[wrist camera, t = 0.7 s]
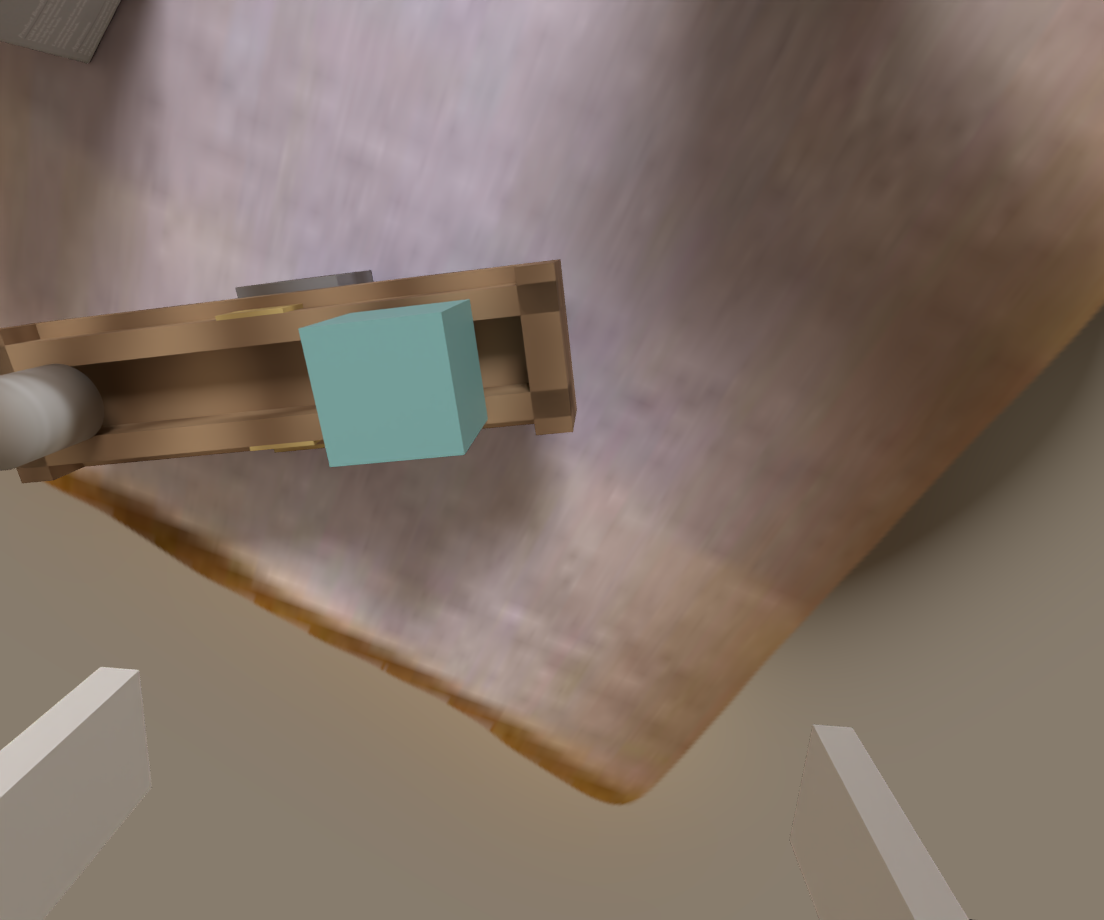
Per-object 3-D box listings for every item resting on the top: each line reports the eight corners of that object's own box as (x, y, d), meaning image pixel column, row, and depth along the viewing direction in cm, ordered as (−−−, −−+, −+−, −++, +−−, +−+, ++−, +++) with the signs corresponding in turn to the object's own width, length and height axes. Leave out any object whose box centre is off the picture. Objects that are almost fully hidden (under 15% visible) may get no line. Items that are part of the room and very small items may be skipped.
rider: (479, 294, 29) (441, 312, 23) (495, 407, 31) (464, 454, 24) (367, 307, 30) (298, 328, 23) (389, 417, 31) (329, 467, 25)
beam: (565, 246, 35) (543, 251, 23) (581, 396, 38) (569, 473, 26) (105, 302, 38) (-133, 334, 26) (147, 439, 41) (-52, 527, 28)
